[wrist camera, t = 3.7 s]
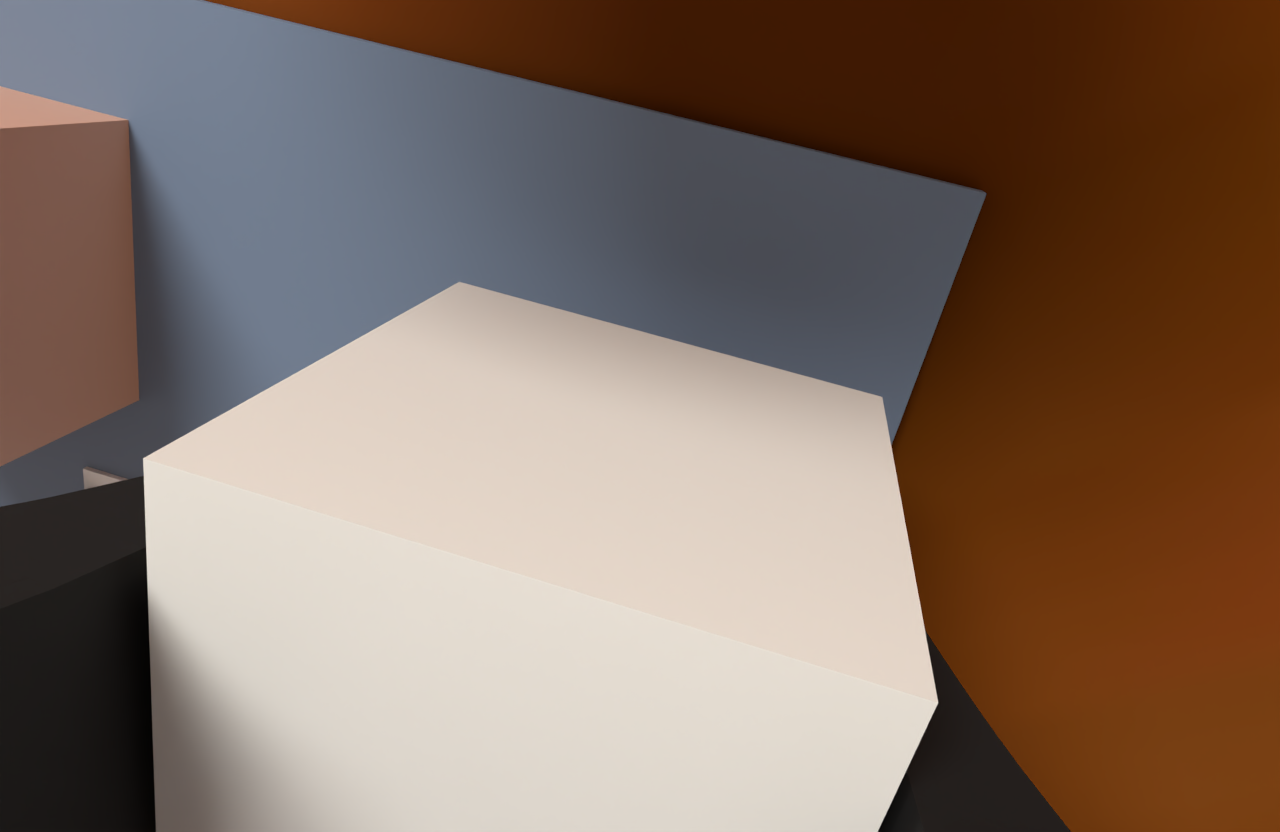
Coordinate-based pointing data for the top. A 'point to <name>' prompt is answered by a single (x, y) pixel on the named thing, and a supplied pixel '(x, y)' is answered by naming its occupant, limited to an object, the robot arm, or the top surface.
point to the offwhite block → (532, 591)
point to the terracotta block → (63, 271)
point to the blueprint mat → (452, 216)
